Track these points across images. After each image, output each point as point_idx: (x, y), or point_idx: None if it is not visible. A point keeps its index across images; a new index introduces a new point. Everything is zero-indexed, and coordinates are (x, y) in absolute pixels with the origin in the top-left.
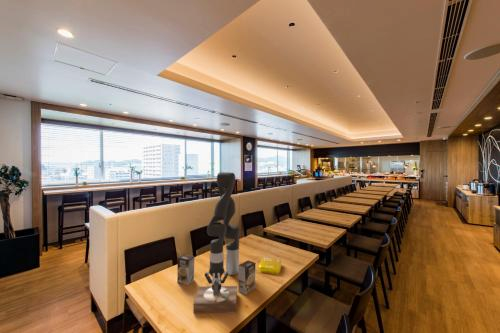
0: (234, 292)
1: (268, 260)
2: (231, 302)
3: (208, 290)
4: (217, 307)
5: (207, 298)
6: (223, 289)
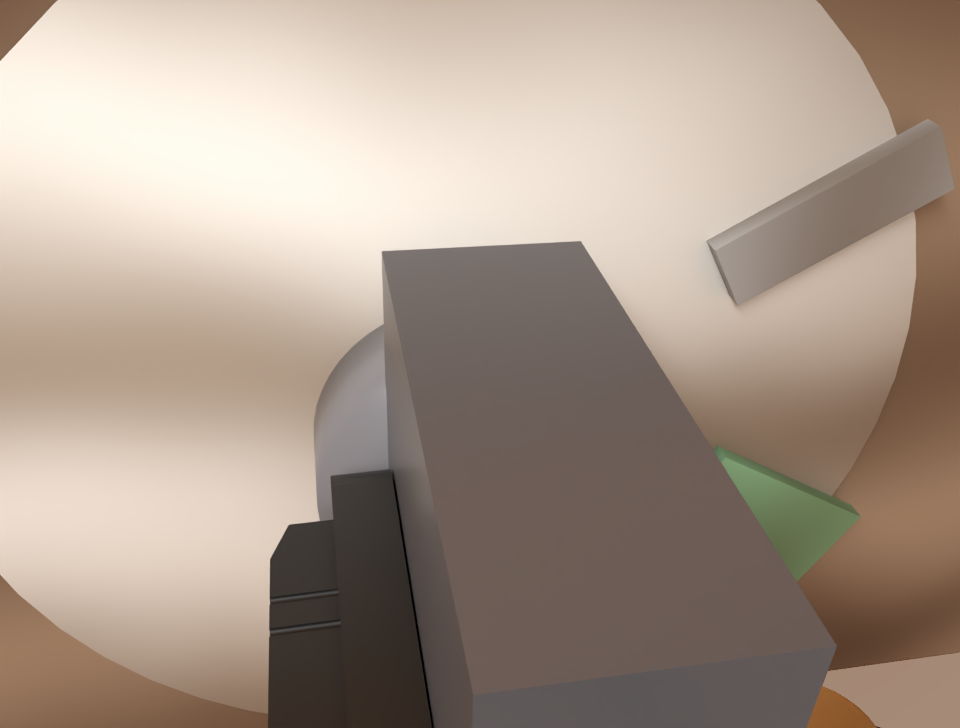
0: None
1: None
2: (865, 651)
3: (27, 223)
4: None
5: (177, 629)
6: (728, 139)
